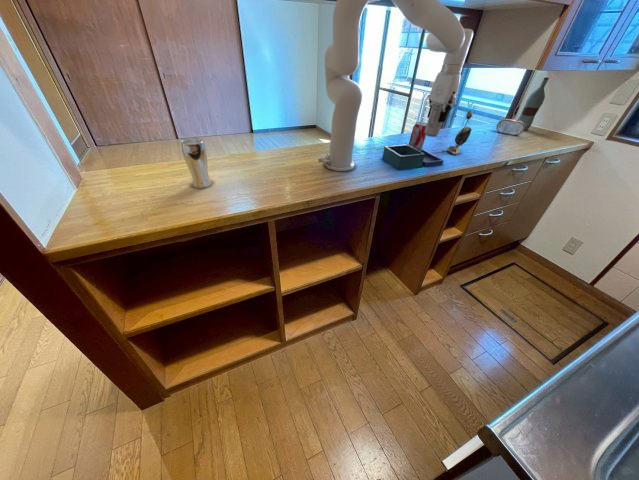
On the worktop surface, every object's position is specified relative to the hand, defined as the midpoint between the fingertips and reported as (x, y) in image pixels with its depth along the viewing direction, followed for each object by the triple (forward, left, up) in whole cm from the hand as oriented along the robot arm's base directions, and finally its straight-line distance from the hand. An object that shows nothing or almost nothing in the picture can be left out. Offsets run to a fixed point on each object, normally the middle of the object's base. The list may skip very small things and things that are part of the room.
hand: (435, 119), depth 112 cm
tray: (0, 0, -18) cm, 18 cm away
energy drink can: (0, 0, -7) cm, 7 cm away
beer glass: (-97, +1, -18) cm, 98 cm away
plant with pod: (+24, +6, -18) cm, 31 cm away
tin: (+85, +24, -18) cm, 90 cm away
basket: (-13, 0, -18) cm, 22 cm away
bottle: (+107, +31, -18) cm, 113 cm away
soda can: (+6, +15, -18) cm, 24 cm away
